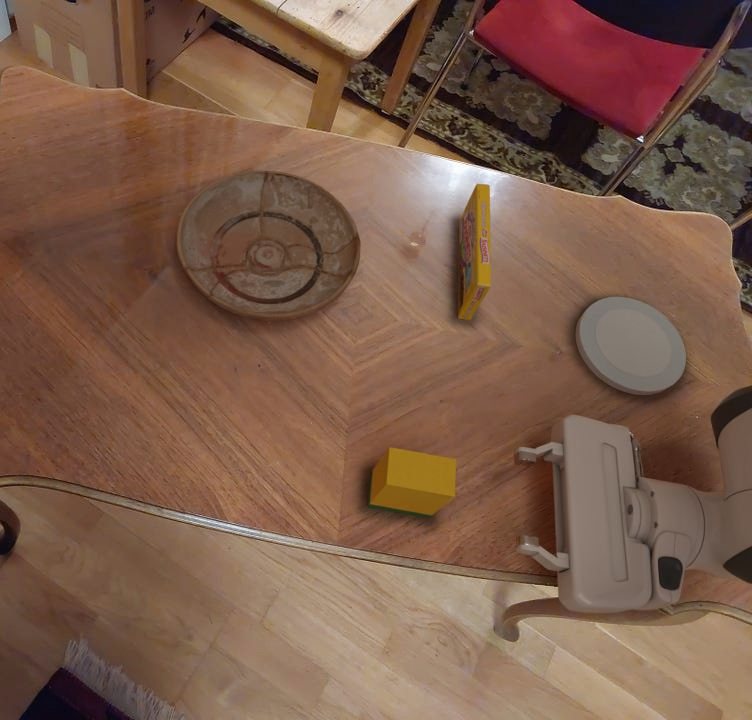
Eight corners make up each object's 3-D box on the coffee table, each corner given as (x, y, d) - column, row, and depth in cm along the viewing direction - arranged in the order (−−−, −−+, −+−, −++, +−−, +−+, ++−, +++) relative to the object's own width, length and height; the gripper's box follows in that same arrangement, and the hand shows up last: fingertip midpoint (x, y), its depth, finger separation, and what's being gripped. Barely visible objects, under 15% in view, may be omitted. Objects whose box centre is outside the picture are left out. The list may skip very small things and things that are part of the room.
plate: (700, 352, 86) (706, 348, 85) (643, 416, 81) (649, 412, 80) (613, 283, 90) (618, 278, 89) (554, 340, 85) (558, 335, 84)
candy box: (455, 222, 93) (476, 181, 86) (470, 224, 93) (492, 184, 86) (454, 318, 86) (477, 283, 78) (470, 321, 86) (495, 286, 78)
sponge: (370, 472, 75) (389, 446, 67) (430, 483, 75) (456, 458, 67) (366, 507, 73) (385, 484, 65) (429, 518, 73) (455, 497, 65)
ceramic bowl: (326, 360, 81) (333, 341, 77) (150, 302, 83) (147, 280, 79) (372, 222, 92) (380, 198, 87) (214, 173, 94) (214, 147, 89)
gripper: (654, 418, 70) (527, 395, 70) (680, 620, 60) (532, 594, 60) (622, 438, 75) (504, 417, 75) (640, 626, 66) (505, 602, 66)
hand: (516, 497), depth 68 cm, fingers open, 8 cm apart
